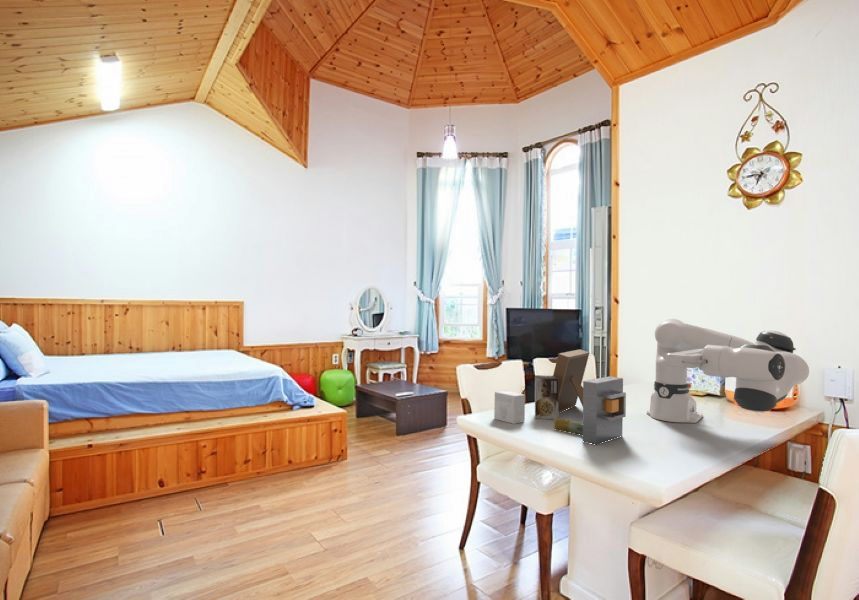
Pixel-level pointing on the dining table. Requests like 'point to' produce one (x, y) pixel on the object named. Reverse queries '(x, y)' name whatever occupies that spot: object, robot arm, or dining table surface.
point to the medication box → (568, 426)
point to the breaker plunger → (611, 405)
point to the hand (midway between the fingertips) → (664, 355)
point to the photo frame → (570, 377)
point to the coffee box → (546, 397)
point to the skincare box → (509, 407)
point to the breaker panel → (602, 409)
